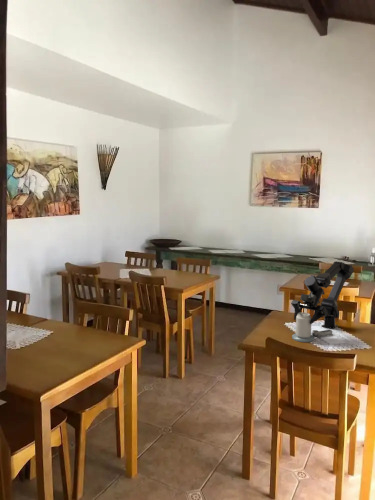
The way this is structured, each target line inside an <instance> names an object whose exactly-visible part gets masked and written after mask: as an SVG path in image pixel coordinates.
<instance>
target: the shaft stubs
mask: <svg viewBox="0 0 375 500" xmlns="http://www.w3.org/2000/svg"><path fill="white" fill-rule="evenodd" d="M311 335H313V336H314V337H317V338H321V336H322V337H326V336H327V335H329V336H333V329H326V330H316V329H313V330H311ZM327 337H328V336H327Z"/></svg>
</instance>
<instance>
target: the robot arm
mask: <svg viewBox="0 0 375 500" xmlns="http://www.w3.org/2000/svg"><path fill="white" fill-rule="evenodd" d="M354 270H355V268H354V267H353V265H351V264H347V263H345V262H342V261H334V262H333V263H332V265H331V266H330V267H328V268H327V269H326V271H325V272H322V273H320V274H318V275H316V276H315V275H314V274H313V275H310V276H308V277H307V278H305V280H304V282H303V283H304V285H305V286H306V288H307V289H308V291H309V294H305V293H301V294H300V299H299V300H297V299H292V301H291V302H290V304H291V306H292V307H293V309H294V314H293V320H294V321H296V316H297V315H298V313H302V310H303V309H304V310H309V311H313V315H312V316H311V321H310V324H311V325H312V324H313V323H315V322H317V321H318V320H319V319H321V318H324V319H323V322H324V323H323V324H322V325H321V328H322V327H323V328H327V329H329V330H334V329H335V328H338V325H337V324H336V319H338V318H339V317H340V313H341V312H339V310H338V303H337V301H338V299H339V297H340V294H341V292H342V290H343V288H344V285H345V283H346V281H347V280H348V279H350V278H351V277H352V276H353V273H354V272H355V271H354ZM334 277H336V278H335V280H334V283H333V285H332V288H331V289H330V292H329V294H328V297H327V298H323V299H322V298H321V297H322V295H325V290H324V289H327V288H329V286H330V285H331V284H332V281H331V280H332V279H333V278H334ZM320 299H322V301H321V303H320ZM301 301H302V302H301ZM319 304H320V305H319Z"/></svg>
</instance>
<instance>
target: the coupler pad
mask: <svg viewBox="0 0 375 500" xmlns="http://www.w3.org/2000/svg"><path fill="white" fill-rule="evenodd" d="M291 338H292V340H293V341H294V342H295V341H296V342H297V343H298V342H299V343H312V342H313V341H314V340H315V338H314V336H313V335H312V334H311V336H310V337H309V338H299V337H298V336H297V335H296V332H295V333H293V334H292V335H291Z"/></svg>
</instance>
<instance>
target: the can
mask: <svg viewBox="0 0 375 500" xmlns="http://www.w3.org/2000/svg"><path fill="white" fill-rule="evenodd" d="M311 319H312V316H311V314H310V313H309V312H301V313H298V315H297V316H296V320H295V333H296V335H297V336H298V337H299V338H309V337H310V336H311V335H312V324H310V321H311Z"/></svg>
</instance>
